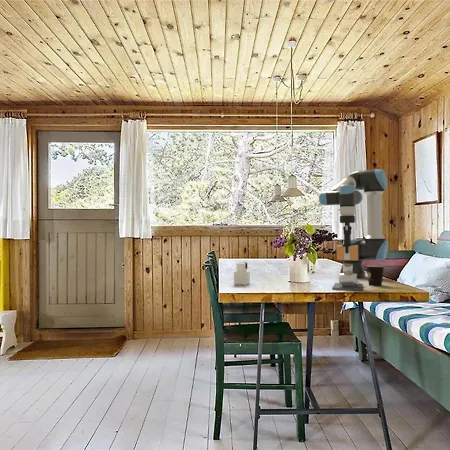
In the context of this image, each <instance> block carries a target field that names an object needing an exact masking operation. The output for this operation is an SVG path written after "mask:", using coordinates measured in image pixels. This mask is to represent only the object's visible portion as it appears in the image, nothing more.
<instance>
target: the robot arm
mask: <svg viewBox="0 0 450 450" xmlns="http://www.w3.org/2000/svg"><path fill="white" fill-rule="evenodd" d="M388 185H389V184H388V178H387V174H386V172H385V170H383V169H381V168H380V169H377V168H376V169H367V170H356V171H353V172H351V173H349V174H347V175H345V176H344V177H343V178H341V180H340V182H338V183H337V184H335V185H334V186H333V187H331V188H330V189H329V190H328V191H321V192H320V193H319V194H318V202H319V205H321V206H339V208H338V211H339V215H340V216H339V223H340V224H344V226H343V227H342V229H343V242H342V245H343V247H344V260H342V263H341V264H342V266H341V268H340V271H339V273H343V264H353V273H355V274H357V279H359V278H366V270H365V267H364V265H363V261H376V262H377V261H384V260H385V259H386V258H387V257H388V254H389V253H388V252H389V248H390V247H389V241H388V240H386V237H385V236H384V235H383V200H382V199H383V194H384V193H385V189H387V188H388ZM359 190H360V191H363V193H364V195H366V231H367V232H366V236H365V237H364V240H363V238H352V239H351V237H352V226H351V224H355V223H356V216H355V214H356V205H359V204H361V202H362V201H363V200H364V199H363V193H361V192H360V191H359ZM350 245H358V260H350V247H349V246H350Z"/></svg>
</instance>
